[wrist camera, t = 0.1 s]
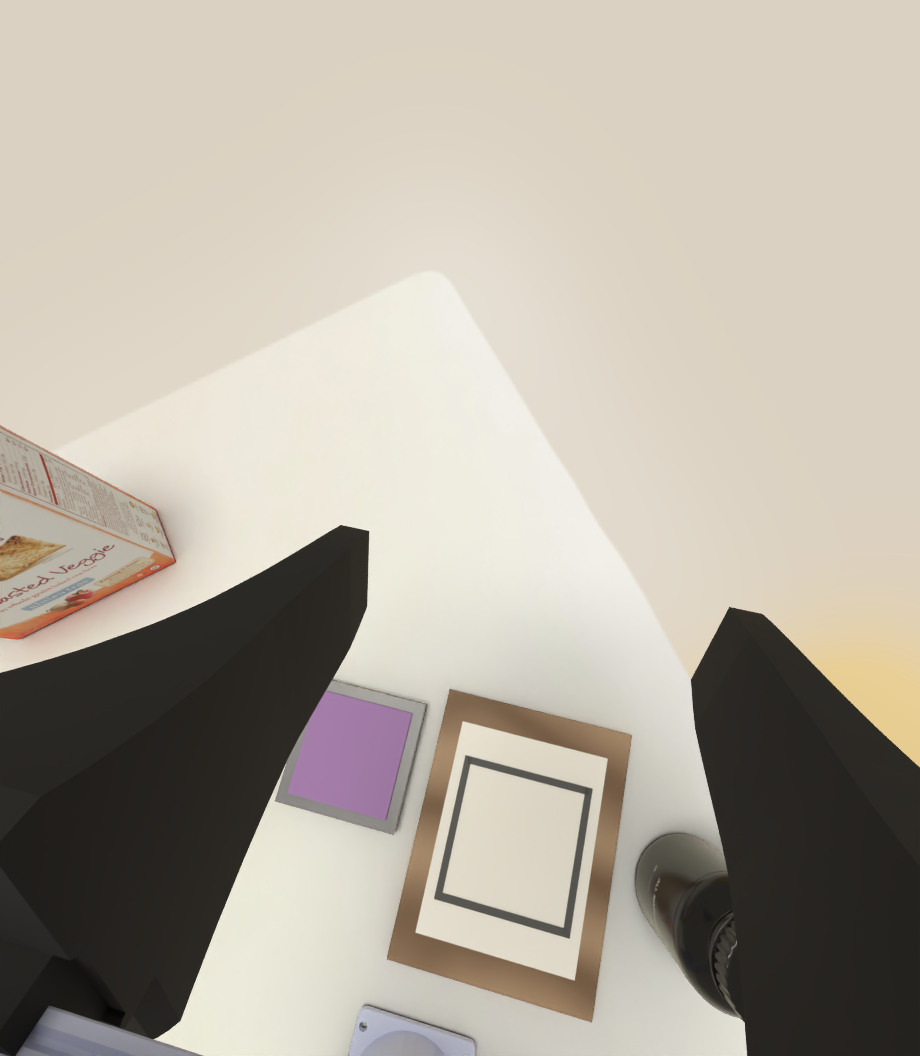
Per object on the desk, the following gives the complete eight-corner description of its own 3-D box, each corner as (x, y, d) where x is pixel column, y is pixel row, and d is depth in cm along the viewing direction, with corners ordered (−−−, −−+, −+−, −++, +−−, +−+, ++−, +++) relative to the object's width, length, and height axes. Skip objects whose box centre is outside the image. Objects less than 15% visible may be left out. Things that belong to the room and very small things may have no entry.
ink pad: (396, 830, 38) (392, 836, 37) (281, 797, 39) (273, 802, 38) (426, 704, 41) (425, 705, 39) (317, 676, 41) (311, 676, 40)
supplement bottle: (613, 862, 37) (674, 943, 26) (693, 812, 38) (787, 869, 26) (670, 965, 35) (763, 1101, 24) (752, 910, 36) (881, 1016, 25)
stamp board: (590, 1016, 35) (592, 1023, 34) (388, 954, 36) (386, 960, 35) (629, 734, 39) (632, 735, 39) (450, 689, 41) (449, 689, 40)
